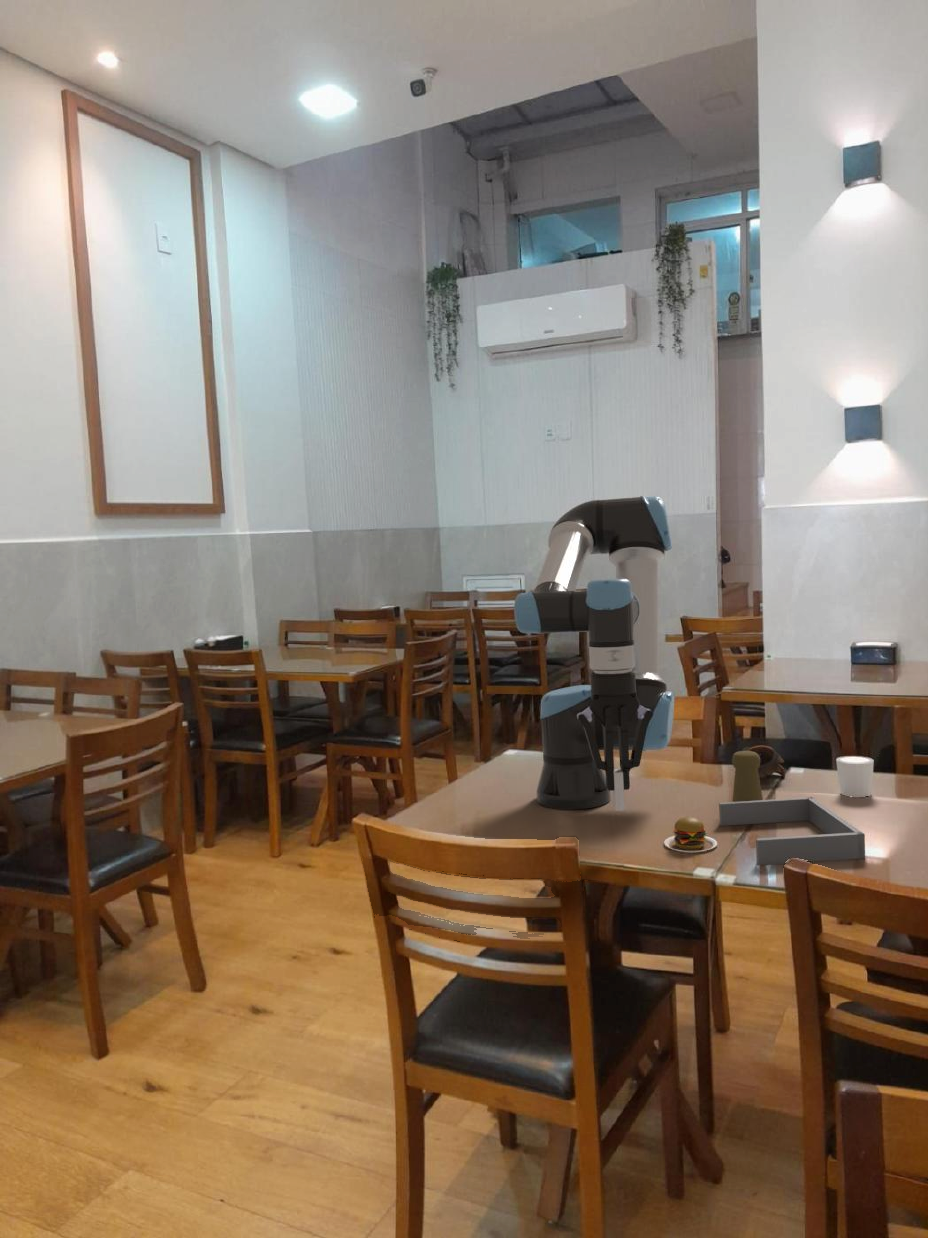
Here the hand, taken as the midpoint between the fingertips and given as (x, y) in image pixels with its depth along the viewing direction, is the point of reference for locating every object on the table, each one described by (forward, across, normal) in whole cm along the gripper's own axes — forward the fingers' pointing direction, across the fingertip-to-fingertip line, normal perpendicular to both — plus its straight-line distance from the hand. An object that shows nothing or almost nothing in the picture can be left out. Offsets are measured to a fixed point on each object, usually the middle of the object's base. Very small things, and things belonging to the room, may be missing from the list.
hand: (618, 808), depth 157 cm
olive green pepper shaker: (+7, +28, +21) cm, 36 cm away
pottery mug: (+7, +38, +42) cm, 56 cm away
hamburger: (+8, +12, +1) cm, 15 cm away
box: (+7, +29, +1) cm, 30 cm away
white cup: (+7, +51, +26) cm, 58 cm away
